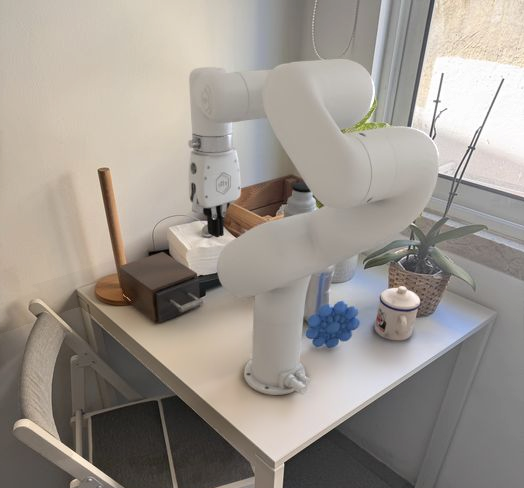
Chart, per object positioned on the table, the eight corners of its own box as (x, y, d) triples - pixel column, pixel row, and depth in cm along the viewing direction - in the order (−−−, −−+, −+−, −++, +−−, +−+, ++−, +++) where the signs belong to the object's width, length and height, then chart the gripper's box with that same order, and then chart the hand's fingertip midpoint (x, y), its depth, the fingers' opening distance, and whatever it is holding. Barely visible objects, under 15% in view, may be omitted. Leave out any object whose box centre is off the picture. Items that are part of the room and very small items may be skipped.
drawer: (213, 314, 122) (212, 288, 118) (173, 331, 116) (170, 304, 111) (168, 284, 133) (166, 259, 128) (130, 299, 126) (126, 272, 122)
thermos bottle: (305, 301, 130) (316, 193, 113) (275, 295, 132) (281, 188, 115) (312, 286, 136) (323, 182, 120) (283, 281, 138) (290, 177, 121)
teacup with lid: (370, 319, 124) (379, 277, 117) (408, 321, 124) (418, 278, 117) (378, 348, 115) (387, 304, 108) (418, 350, 115) (430, 306, 108)
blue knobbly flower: (351, 336, 118) (359, 291, 111) (357, 353, 113) (365, 307, 106) (301, 336, 118) (306, 291, 110) (305, 354, 112) (310, 307, 105)
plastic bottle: (328, 313, 126) (338, 238, 114) (328, 329, 120) (338, 251, 108) (302, 311, 126) (309, 236, 114) (301, 326, 121) (308, 249, 109)
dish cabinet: (198, 305, 127) (197, 273, 121) (155, 323, 120) (151, 289, 114) (165, 283, 135) (162, 251, 130) (123, 298, 128) (118, 266, 123)
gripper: (193, 153, 90) (198, 250, 100) (255, 140, 98) (254, 230, 109) (168, 145, 94) (176, 238, 105) (229, 133, 103) (231, 220, 113)
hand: (215, 234), depth 107 cm, fingers closed
